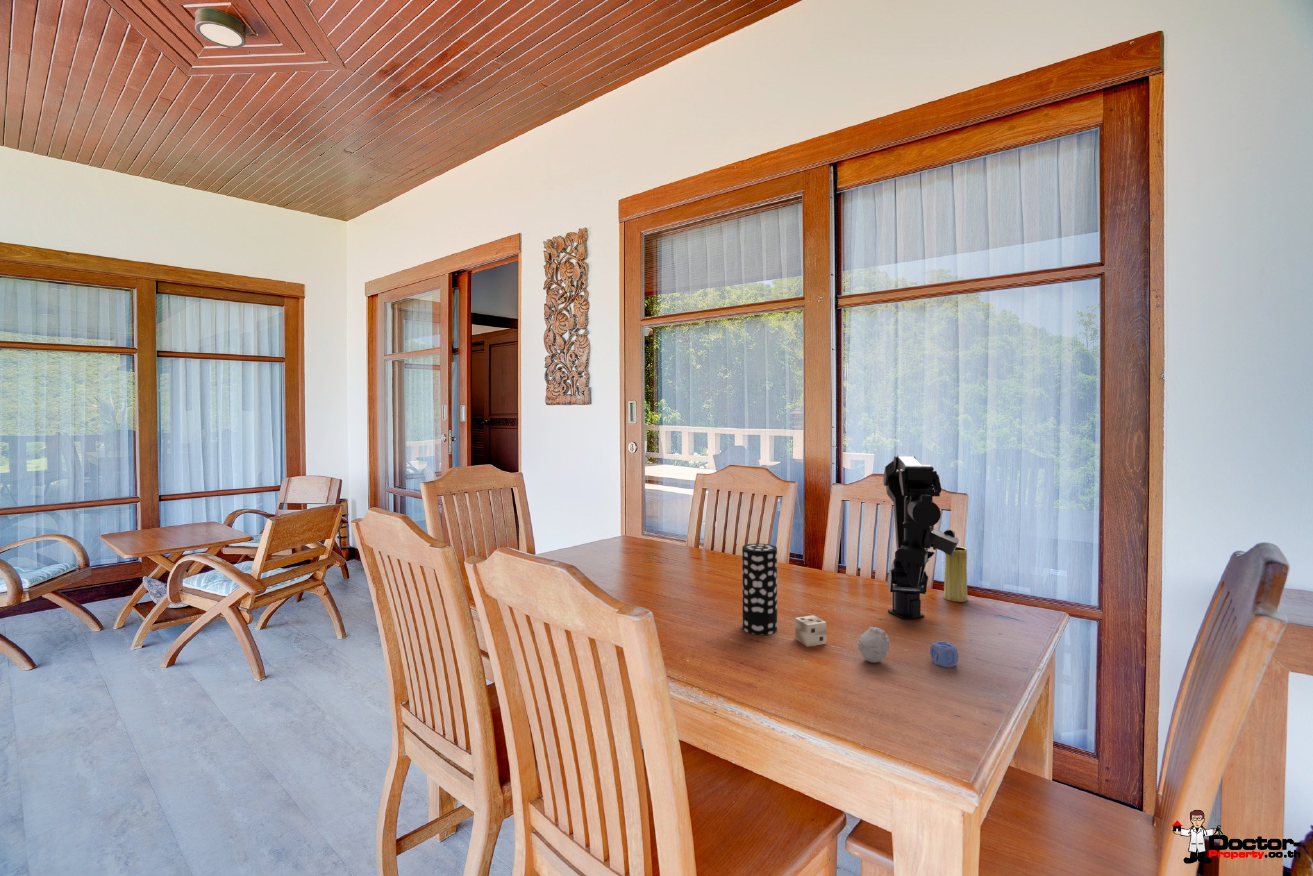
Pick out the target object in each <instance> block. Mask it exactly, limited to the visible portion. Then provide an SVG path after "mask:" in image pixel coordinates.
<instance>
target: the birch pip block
mask: <svg viewBox="0 0 1313 876" xmlns="http://www.w3.org/2000/svg"><path fill="white" fill-rule="evenodd" d="M794 619H795V620H794V621H795V622H794V630H795V631H794V632H795V633H794V635H795V636H794V638H795V640H796V641H798V642H800V643H801V644H802V645H804V646H805V647H807V648H808V647H809V648H810V647H815V646H820V645H826V644H827V621H825V620H823V619H821V618H819V617H818V616H816V615H814V614H813V615H812V614H811V615H807V616H805V615H804V616H800V617H795V618H794Z"/></svg>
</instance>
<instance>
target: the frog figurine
mask: <svg viewBox="0 0 1313 876" xmlns="http://www.w3.org/2000/svg"><path fill="white" fill-rule="evenodd" d="M890 640H891V639H890V637H889V636H888V633H886V631H885V630H884V629H882V628H880V627H876V626H869V627H868V629H866V630H865V632H863V633H862V634H861V636H860V638H859V640H858V642H857V646H858V650H859V652H860V654H861V656H862V657H863V658H864V660H865V661H867V662H869V663H873V664H875V663H879V662H881V661H883V660H884V658H885V657H886V655H887V652H888V651H889V648H890V647H889V646H890V644H891V643H890Z"/></svg>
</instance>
